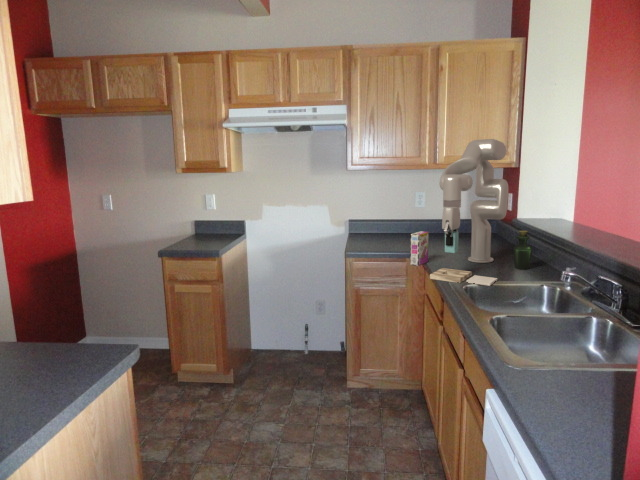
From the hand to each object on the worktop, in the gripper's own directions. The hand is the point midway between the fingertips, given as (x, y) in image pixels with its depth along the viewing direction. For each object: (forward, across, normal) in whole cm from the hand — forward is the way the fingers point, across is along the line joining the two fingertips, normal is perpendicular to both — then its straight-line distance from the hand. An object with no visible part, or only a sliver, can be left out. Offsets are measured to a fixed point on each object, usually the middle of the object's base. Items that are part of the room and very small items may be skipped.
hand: (451, 244), depth 197 cm
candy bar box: (+16, -17, -24) cm, 34 cm away
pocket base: (+15, +1, 0) cm, 15 cm away
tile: (+15, +1, +14) cm, 21 cm away
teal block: (+3, 0, 0) cm, 3 cm away
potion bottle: (+16, -32, +22) cm, 42 cm away
